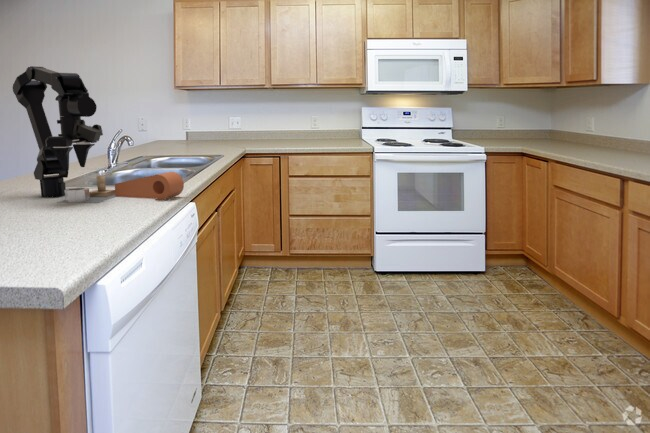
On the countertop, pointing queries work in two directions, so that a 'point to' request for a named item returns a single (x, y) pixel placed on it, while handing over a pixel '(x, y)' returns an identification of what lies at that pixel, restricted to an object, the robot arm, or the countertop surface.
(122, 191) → the crank
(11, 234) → the countertop surface
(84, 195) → the collar
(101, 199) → the mat
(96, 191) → the tan stamp
